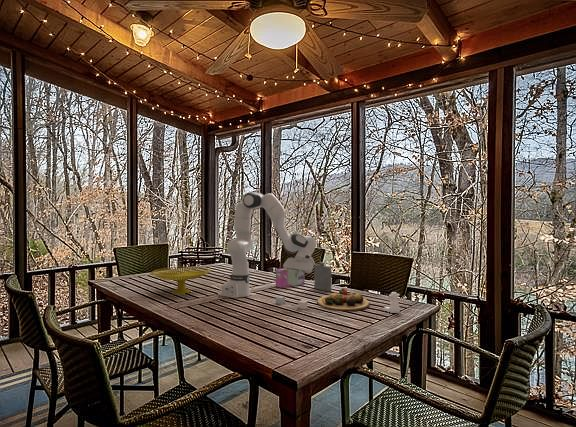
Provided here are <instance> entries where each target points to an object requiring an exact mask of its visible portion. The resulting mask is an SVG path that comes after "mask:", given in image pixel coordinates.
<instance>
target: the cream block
mask: <svg viewBox="0 0 576 427" xmlns="http://www.w3.org/2000/svg"><path fill="white" fill-rule="evenodd" d="M308 303H309V301H308V300H303V299H301V300H299V301H298V303H297V308H298V309H302V310H306V309H308Z"/></svg>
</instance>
